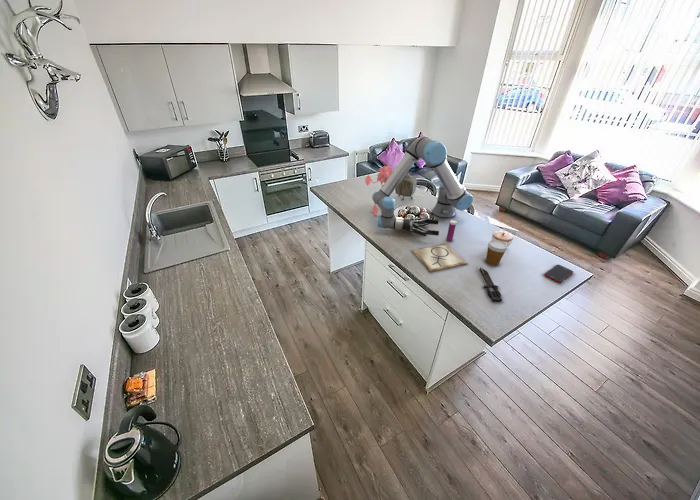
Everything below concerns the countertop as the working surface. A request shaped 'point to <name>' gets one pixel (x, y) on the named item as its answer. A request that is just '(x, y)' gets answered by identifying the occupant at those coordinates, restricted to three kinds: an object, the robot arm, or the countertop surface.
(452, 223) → the dot marker
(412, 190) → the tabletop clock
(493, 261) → the disposable coffee cup
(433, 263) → the drawing board
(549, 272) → the cell phone
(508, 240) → the lidded sugar bowl
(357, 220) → the countertop surface
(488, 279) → the knife
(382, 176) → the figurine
